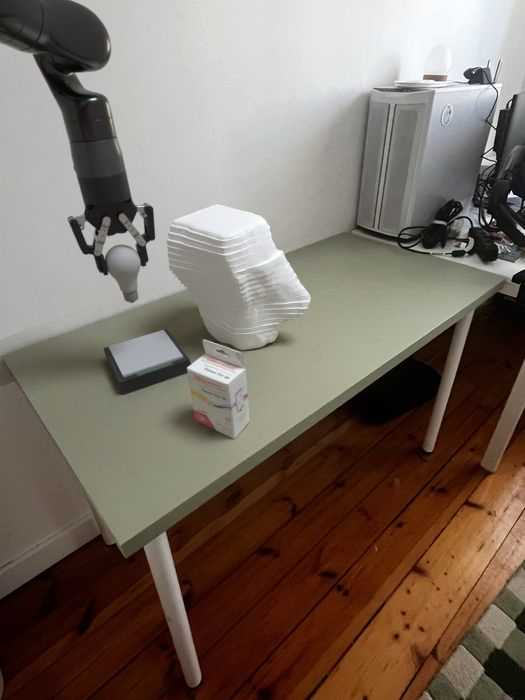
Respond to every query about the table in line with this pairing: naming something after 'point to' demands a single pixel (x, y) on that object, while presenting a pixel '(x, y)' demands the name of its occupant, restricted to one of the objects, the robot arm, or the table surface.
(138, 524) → the table surface
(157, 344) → the scale
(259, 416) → the table surface
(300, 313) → the white layered head sculpture
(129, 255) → the lightbulb
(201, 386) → the ink cartridge box
